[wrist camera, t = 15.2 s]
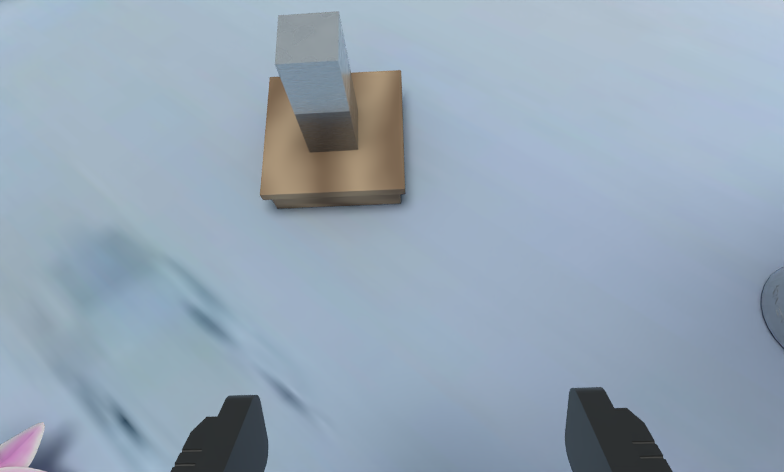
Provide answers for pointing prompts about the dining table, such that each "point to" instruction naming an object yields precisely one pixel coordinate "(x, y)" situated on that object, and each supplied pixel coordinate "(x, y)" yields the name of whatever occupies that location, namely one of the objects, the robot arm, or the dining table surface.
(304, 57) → the block
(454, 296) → the dining table surface
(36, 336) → the dining table surface
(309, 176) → the walnut stand
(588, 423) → the robot arm
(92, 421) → the dining table surface
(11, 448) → the lily
